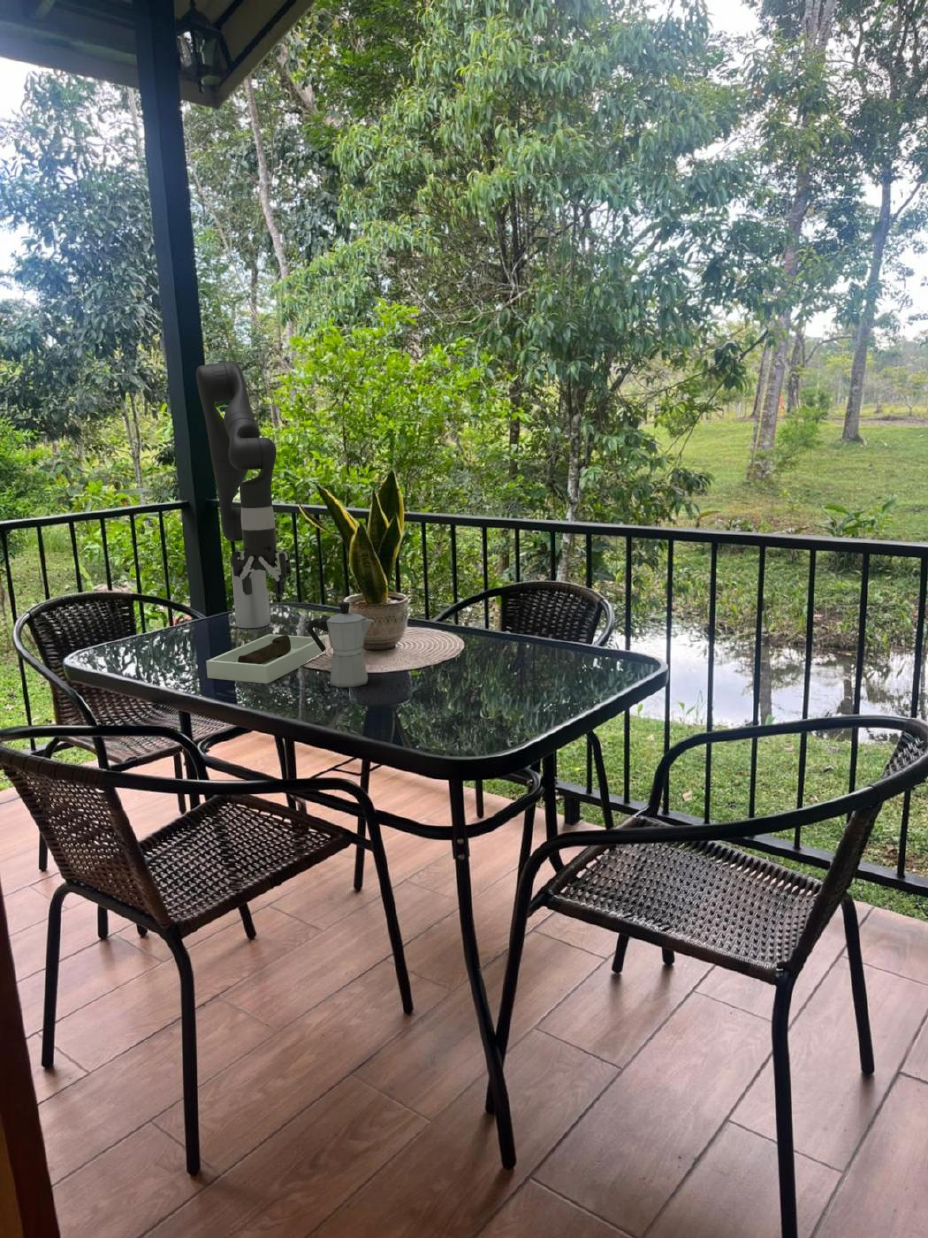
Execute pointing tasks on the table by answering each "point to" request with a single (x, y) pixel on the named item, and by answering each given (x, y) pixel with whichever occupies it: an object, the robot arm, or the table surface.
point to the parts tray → (269, 670)
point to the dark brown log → (268, 651)
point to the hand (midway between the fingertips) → (264, 595)
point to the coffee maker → (344, 645)
